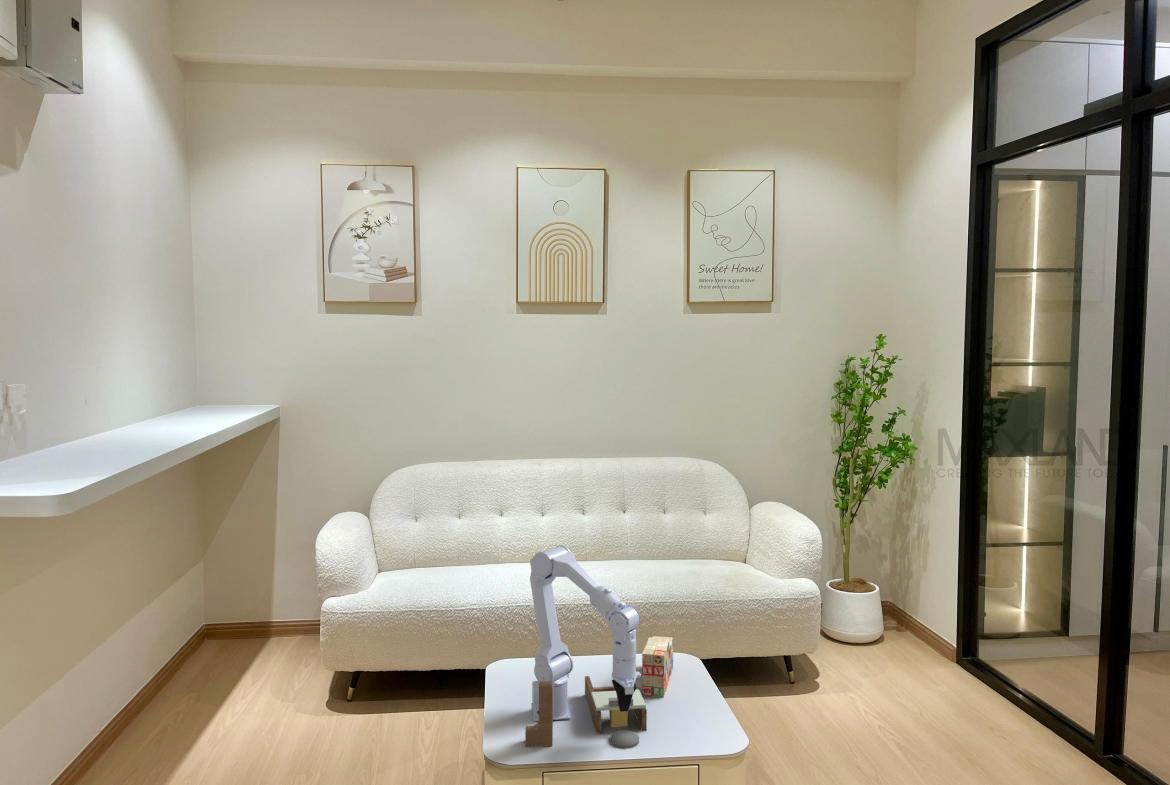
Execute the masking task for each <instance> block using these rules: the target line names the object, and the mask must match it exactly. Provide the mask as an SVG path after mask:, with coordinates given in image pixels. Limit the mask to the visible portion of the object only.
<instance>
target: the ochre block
mask: <svg viewBox="0 0 1170 785" xmlns="http://www.w3.org/2000/svg"><path fill="white" fill-rule="evenodd" d="M608 713H609V714H608V716H609V717H608V719H609V723H610V726H611V728H619V727H627V726H628V711H624V712H620V710H608Z"/></svg>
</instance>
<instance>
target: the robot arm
mask: <svg viewBox="0 0 1170 785" xmlns="http://www.w3.org/2000/svg"><path fill="white" fill-rule="evenodd" d="M575 555H576V554H574V553H573V552H572V551H571V550H570V549H569V548H568V547H567V546H566V545H562V544H559V545H557V546H555V547H551V548H548V549H546V550H543V551H539V552H536V553H535V554H534V555H533V556H532V558H531V559H530V560H529V562H530V563H529V564H530V570H531V571H530V577H529V581H530V589H531V594H532V602H533V606H534V607H533V608H534V613H535V620H536V627H537V632H538V639H539V647H538V649H537V651H536V653H535V655H534V668H533V673H534V676H535V679H536V680H533V681H532V683H531V686H532V688H531V689H532V690H531V691H532V692H531V693H532V694H531V698H532V699H531V705H530V706H531V708H530V709H531V711H532V717H533V718H532V719H533V721H534V722H538V721H539V682H540V681H552V682H553V721H559V720H570V719H571V713H570V710H569V705H568V679H569V678H570V677H569V676H570V673H571V672H573V669H574V661H573V658H572V656H571V654H570V652H569V647H568V646H567V645H566V644H565V643H564V642H562V641H561V634H560V626H559V621H558V615H557V609H556V602H555V596H554V595H555V594H554V589H553V585H552V584H553V581H554V580H555V579H556V578H557V577H558V578H567V579H568V580H570V581H571V582H572V583H573V584H575V585H576V586H577V587H578V588H579V589H580V590H582V591H583V592H584V593H585V594H587V595H588V596H589V603H590V605H591V606H592V607H594V609H596V610H597V612H599V614H600V615H602V616H603V618H605V619H606V621H607V626H608V628H609V630H610V632H611V638H612V673H611V678H612V680H611V682H612V686H614V688H615V690H616V694H617V700H618V705H619V709H620V712H624V711H627V712H629V711H630V709H629V707H630V703H631V699H632V696H633V694H634V692H635V690H636V688H637V689H638V686H637V684H636V680H637V678H642V676H641V675H642V673H641V672H640V671H637V628H638V627H639V626H640V624H641V621H642V618H641V617H642V616H641V614H640V612H639V610H638V609H637V608H636V606H635V605H632V604H627V603H626V602H624V601H622V600H621V599H620V598H619V597H618V596H617V595H616V594H615V593H614V592H613V590H612V589H611V587H607V586H606V585H599V584H598V583H597V582H596V581H595V580H594V579H593V578H592V576H590V574H588V572H587V571H586V570H585V569H584V568H583V567H582V566H581V564H579V562H578V561H577V560H576V556H575Z"/></svg>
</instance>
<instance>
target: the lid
mask: <svg viewBox="0 0 1170 785" xmlns="http://www.w3.org/2000/svg"><path fill="white" fill-rule="evenodd" d="M592 698H593V701H594V704H595V707H596V711H601V712H602V711H609V710H620V709H619V705H618V700H617V694H616V691H603V692H592ZM645 702H646V701H645V700H644V697H643V695H642V692H641V691H640V689H637V690H635V692H634V694H633V696H632V699H631V703H630V707H629V710H633V709H637V708H646V709H647V704H646V703H645Z"/></svg>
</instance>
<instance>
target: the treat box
mask: <svg viewBox="0 0 1170 785" xmlns="http://www.w3.org/2000/svg"><path fill="white" fill-rule="evenodd" d="M636 690H638V687H637V688H636ZM603 691H616V690H615V688H614V686H613V685H611V686H610V685H609V686H597V687H595V686H593V683H592V680H591V678H590V675H587V676H584V698H585V700H586V702H587V707H588V711H589V714H590V717H591V720H592V724H593V727H594V731H595V733H596V734H602V711H596V707H595V704H594V701H593V698H592V692H603ZM632 711H633V712H634V715H635V718H636V720H637V722H638V725H639V727H640V729H641V731H642V732H644V730H645V731H647V725H648V724H647V723H648V722H647V721H648V720H647V719H648V718H647V717H648V715H647V714H648V712H647V711H648V710H647V707H646V708H637V709H632Z"/></svg>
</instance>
